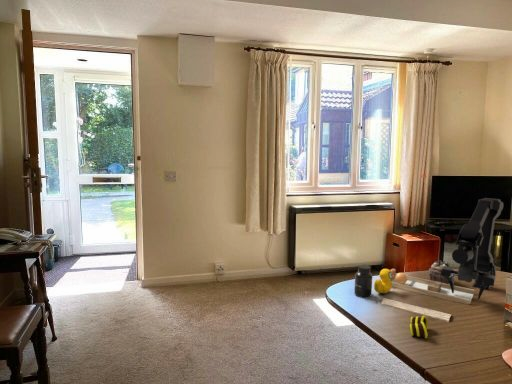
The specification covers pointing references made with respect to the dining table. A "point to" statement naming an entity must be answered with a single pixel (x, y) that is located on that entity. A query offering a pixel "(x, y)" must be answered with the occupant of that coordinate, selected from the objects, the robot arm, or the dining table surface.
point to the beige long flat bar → (416, 309)
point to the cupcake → (438, 272)
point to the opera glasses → (419, 326)
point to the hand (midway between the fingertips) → (465, 295)
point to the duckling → (384, 281)
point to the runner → (443, 290)
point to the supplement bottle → (363, 281)
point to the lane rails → (432, 293)
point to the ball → (401, 278)
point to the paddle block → (434, 286)
